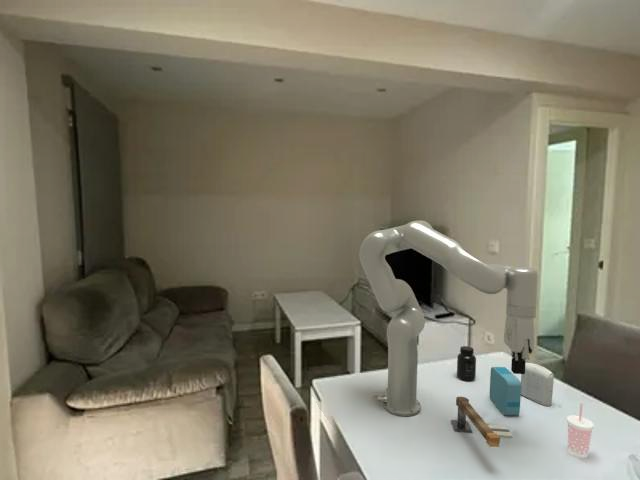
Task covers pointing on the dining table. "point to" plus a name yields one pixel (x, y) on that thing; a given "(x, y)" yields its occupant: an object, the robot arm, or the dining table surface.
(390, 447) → the dining table surface
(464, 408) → the swing bar
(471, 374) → the supplement bottle
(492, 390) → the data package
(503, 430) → the label tile
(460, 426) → the post
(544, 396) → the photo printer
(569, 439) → the beverage cup
